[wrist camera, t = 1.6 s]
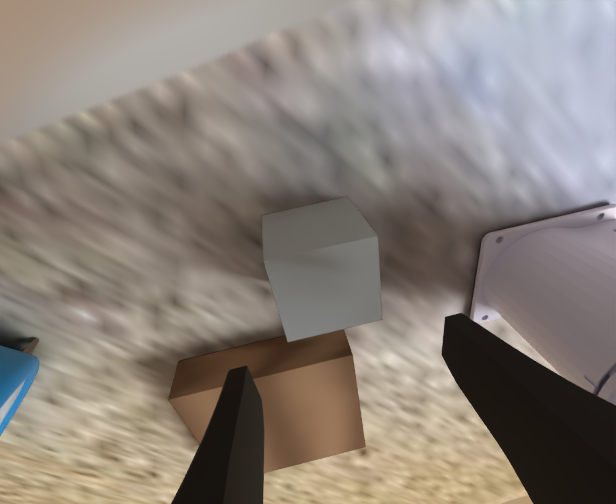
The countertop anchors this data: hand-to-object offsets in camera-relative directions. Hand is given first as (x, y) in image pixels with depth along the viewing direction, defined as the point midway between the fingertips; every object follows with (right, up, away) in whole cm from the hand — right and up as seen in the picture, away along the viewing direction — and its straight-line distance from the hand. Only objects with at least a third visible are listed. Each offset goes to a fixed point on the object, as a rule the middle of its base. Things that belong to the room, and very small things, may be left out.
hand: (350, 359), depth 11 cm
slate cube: (-1, +4, +8) cm, 9 cm away
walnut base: (-4, -8, +14) cm, 16 cm away
